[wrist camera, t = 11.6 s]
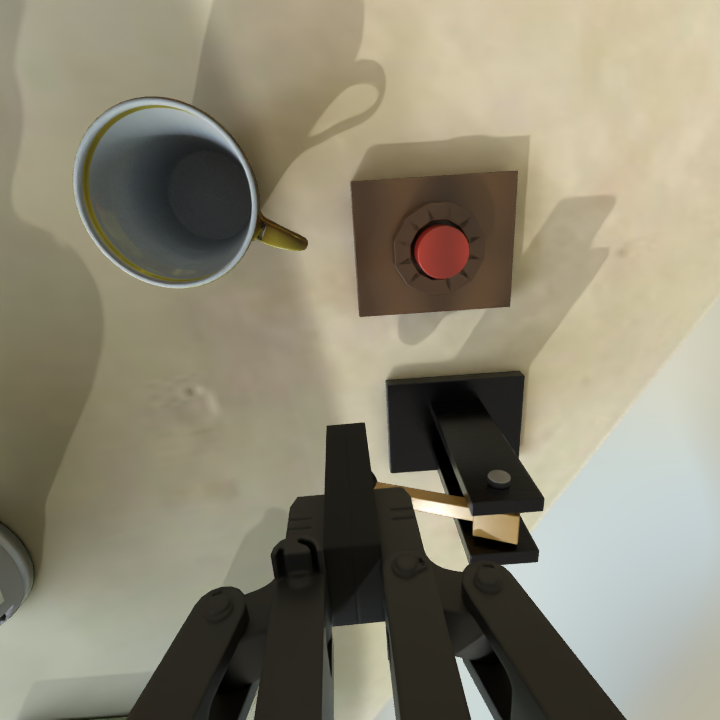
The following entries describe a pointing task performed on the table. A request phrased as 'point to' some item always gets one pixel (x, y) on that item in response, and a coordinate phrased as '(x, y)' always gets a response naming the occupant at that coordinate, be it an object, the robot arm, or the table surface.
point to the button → (441, 251)
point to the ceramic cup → (170, 194)
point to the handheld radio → (117, 719)
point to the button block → (410, 218)
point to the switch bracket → (468, 450)
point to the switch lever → (462, 513)
